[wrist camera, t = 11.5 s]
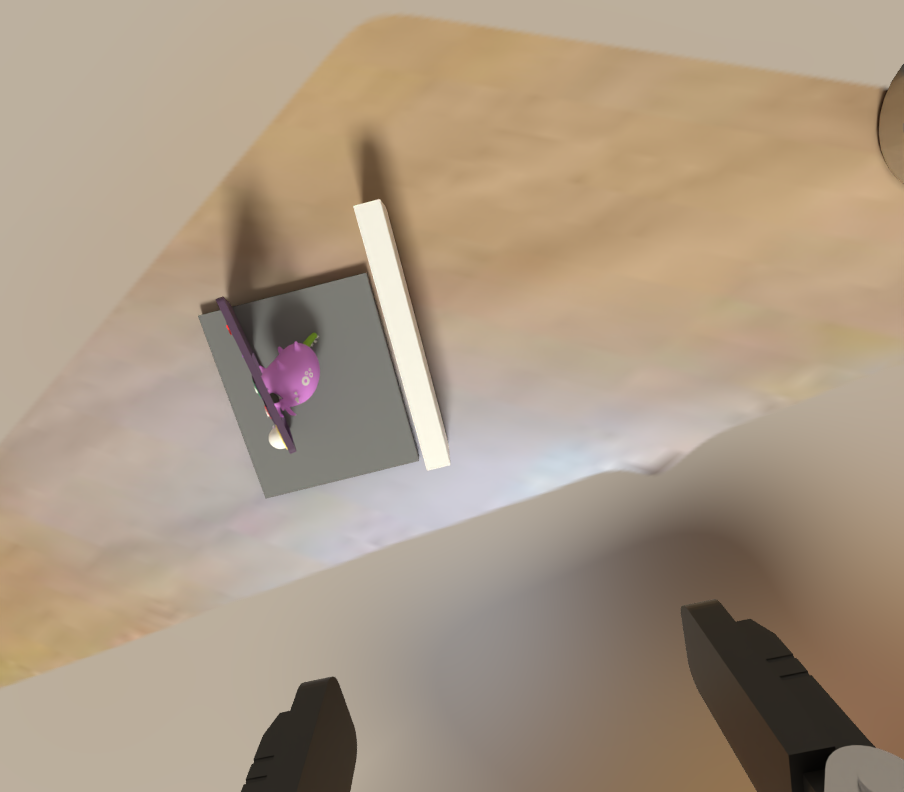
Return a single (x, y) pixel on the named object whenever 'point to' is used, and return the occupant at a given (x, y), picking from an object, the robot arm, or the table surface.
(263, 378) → the purple framed toy figure
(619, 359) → the table surface
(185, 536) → the table surface
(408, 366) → the low wall
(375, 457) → the rubber mat
